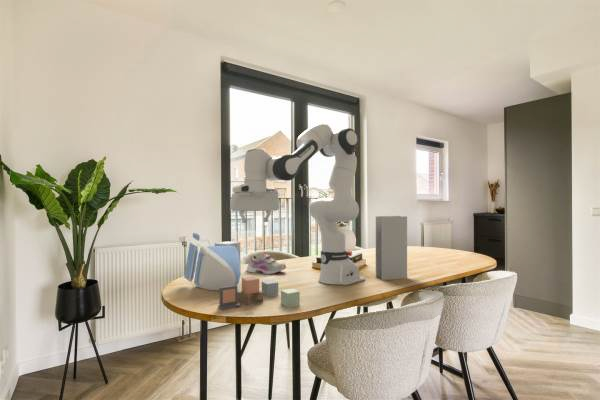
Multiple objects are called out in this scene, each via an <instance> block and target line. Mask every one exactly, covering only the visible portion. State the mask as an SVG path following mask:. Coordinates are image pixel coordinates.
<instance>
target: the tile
mask: <svg viewBox="0 0 600 400" xmlns="http://www.w3.org/2000/svg"><path fill="white" fill-rule="evenodd" d="M218 291H219V294H218V295H219V296H218V297H219V299H218V300H219V303H218V305H217V308H218V309H219V310H220V311H223V310H228V309H229V310H230V309H234V308H239V307H240V306H241V303H240V302H237V292H238V285H234V286H227V287H220V288H219V290H218Z"/></svg>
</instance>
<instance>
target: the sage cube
mask: <svg viewBox="0 0 600 400" xmlns="http://www.w3.org/2000/svg"><path fill="white" fill-rule="evenodd" d="M300 293H301V292H300V291H299V290H297V289H295V288H287V289H282V290H280V304H281V305H282V306H284V307H286V308H292V307H296V306H300V304H301V303H300V301H301V300H300Z"/></svg>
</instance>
